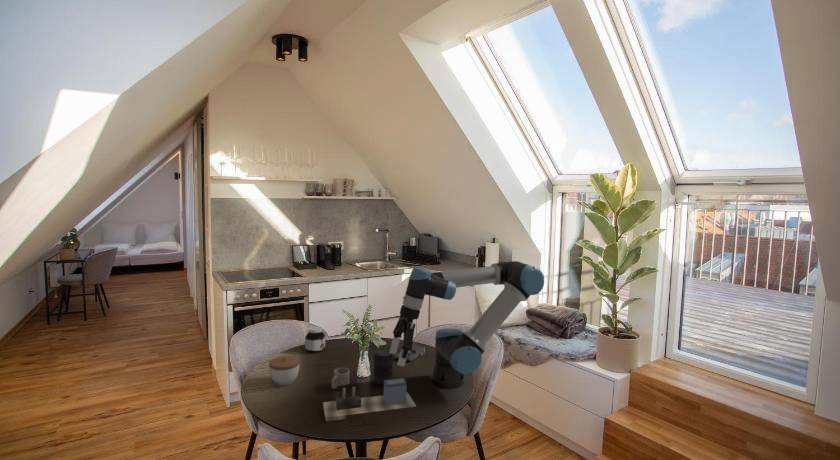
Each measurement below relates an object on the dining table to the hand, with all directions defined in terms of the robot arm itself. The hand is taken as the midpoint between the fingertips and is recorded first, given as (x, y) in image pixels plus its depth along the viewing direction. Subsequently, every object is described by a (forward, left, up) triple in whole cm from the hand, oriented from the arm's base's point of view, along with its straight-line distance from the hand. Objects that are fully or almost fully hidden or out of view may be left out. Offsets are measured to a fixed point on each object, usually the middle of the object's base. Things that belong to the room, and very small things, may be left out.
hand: (396, 359), depth 176 cm
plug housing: (+1, +1, -16) cm, 16 cm away
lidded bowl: (+42, -31, -18) cm, 55 cm away
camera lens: (+2, -16, -18) cm, 24 cm away
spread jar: (+27, -68, -18) cm, 75 cm away
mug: (+20, -20, -18) cm, 33 cm away
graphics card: (-18, -47, -19) cm, 54 cm away
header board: (+11, +1, -18) cm, 21 cm away
